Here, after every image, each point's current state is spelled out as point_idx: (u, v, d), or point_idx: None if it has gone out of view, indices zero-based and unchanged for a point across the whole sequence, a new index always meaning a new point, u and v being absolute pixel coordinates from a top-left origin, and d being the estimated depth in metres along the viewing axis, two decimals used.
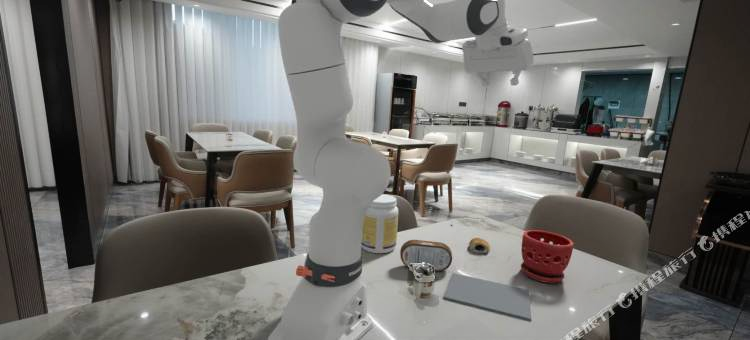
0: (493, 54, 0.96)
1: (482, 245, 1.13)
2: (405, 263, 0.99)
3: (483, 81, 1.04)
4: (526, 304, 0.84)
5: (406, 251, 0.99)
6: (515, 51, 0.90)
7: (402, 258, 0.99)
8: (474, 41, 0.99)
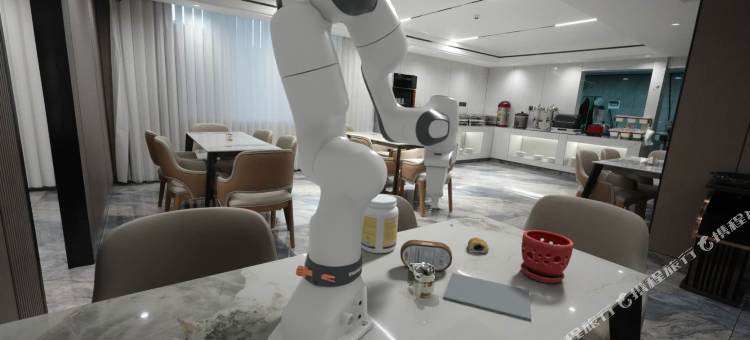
0: None
1: (481, 245, 1.13)
2: (405, 263, 0.99)
3: None
4: (526, 304, 0.84)
5: (406, 251, 0.99)
6: None
7: (402, 258, 0.99)
8: None
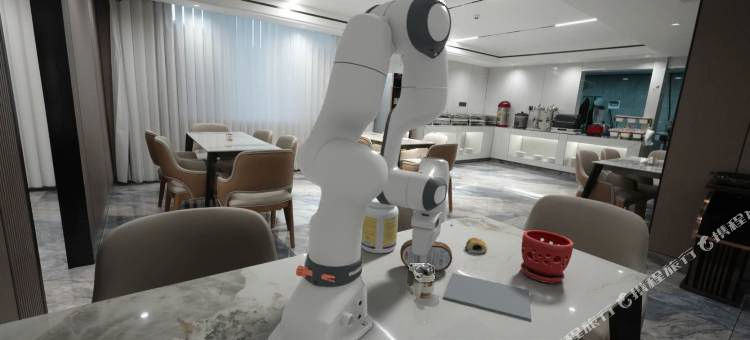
0: None
1: (480, 245, 1.13)
2: (405, 263, 0.99)
3: None
4: (526, 304, 0.84)
5: (406, 251, 0.99)
6: None
7: (402, 258, 0.99)
8: None
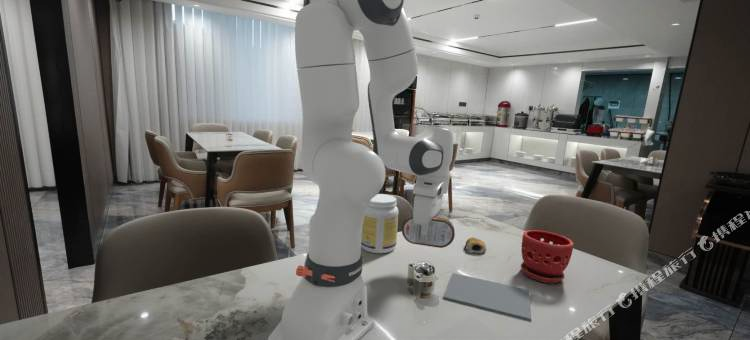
0: None
1: (479, 245, 1.13)
2: (406, 237, 0.97)
3: None
4: (526, 304, 0.84)
5: (407, 225, 0.97)
6: None
7: (403, 232, 0.97)
8: None
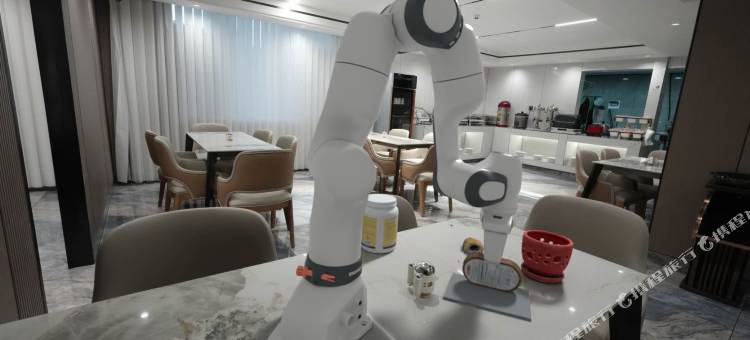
0: None
1: (477, 245, 1.13)
2: (467, 277, 0.92)
3: None
4: (526, 304, 0.84)
5: (468, 265, 0.91)
6: None
7: (464, 271, 0.92)
8: None
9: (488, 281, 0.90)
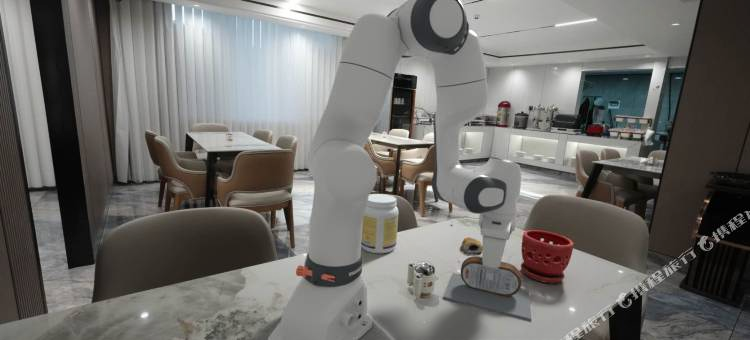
0: None
1: (476, 245, 1.13)
2: (465, 281, 0.90)
3: None
4: (526, 304, 0.84)
5: (467, 269, 0.89)
6: None
7: (462, 275, 0.90)
8: None
9: (487, 285, 0.88)
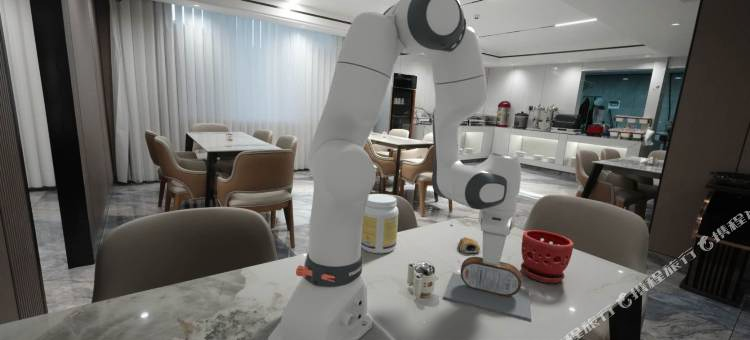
0: None
1: (473, 245, 1.13)
2: (465, 281, 0.90)
3: None
4: (526, 304, 0.84)
5: (466, 269, 0.89)
6: None
7: (462, 275, 0.90)
8: None
9: (487, 285, 0.88)
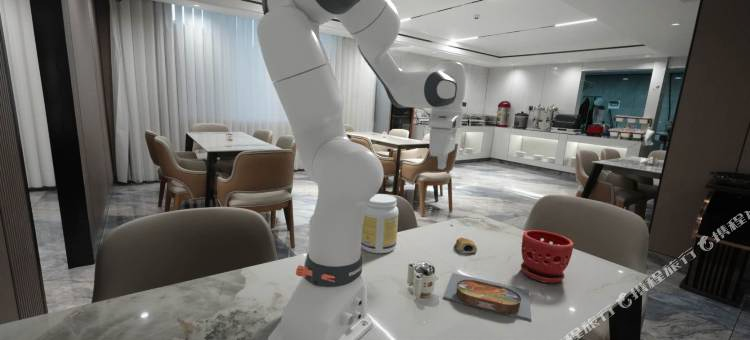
0: None
1: (471, 245, 1.13)
2: None
3: None
4: (526, 304, 0.84)
5: None
6: None
7: None
8: None
9: None
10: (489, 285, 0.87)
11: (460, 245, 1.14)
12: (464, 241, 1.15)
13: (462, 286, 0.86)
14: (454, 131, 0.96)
